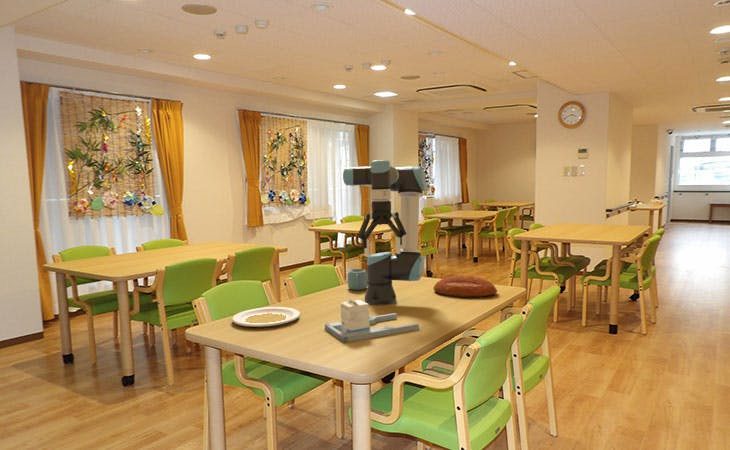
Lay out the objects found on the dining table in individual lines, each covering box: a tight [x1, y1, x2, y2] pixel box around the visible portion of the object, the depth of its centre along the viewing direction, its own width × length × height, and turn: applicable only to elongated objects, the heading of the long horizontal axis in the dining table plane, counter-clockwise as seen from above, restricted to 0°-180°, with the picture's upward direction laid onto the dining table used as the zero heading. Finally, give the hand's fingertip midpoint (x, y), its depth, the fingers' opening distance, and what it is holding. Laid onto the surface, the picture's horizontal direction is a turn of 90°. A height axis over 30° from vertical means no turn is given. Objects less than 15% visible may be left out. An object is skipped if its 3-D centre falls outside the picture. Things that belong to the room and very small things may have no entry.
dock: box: [324, 312, 420, 344], centre depth 196 cm, size 19×32×2 cm, turn 116°
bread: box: [433, 275, 498, 298], centre depth 253 cm, size 23×32×9 cm
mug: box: [347, 268, 368, 291], centre depth 268 cm, size 15×11×10 cm
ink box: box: [340, 297, 371, 334], centre depth 192 cm, size 9×8×13 cm
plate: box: [232, 306, 301, 328], centre depth 214 cm, size 28×28×2 cm
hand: (382, 255), depth 196 cm, fingers open, 13 cm apart
